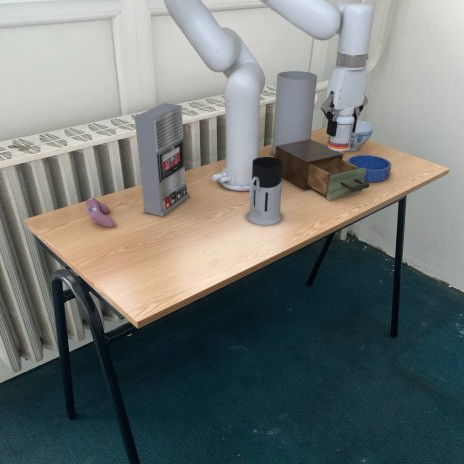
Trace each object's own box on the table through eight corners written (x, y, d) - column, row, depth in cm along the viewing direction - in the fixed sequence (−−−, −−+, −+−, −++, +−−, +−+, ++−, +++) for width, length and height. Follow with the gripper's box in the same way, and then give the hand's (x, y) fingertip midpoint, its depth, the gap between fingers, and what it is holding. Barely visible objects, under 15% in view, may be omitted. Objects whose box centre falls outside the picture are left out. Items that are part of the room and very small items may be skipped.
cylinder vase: (300, 146, 173) (308, 70, 158) (314, 158, 164) (323, 78, 149) (267, 149, 171) (271, 72, 155) (279, 162, 161) (285, 80, 146)
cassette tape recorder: (163, 217, 128) (155, 120, 113) (144, 213, 130) (133, 116, 115) (189, 197, 138) (184, 105, 123) (170, 193, 140) (164, 102, 125)
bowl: (366, 186, 146) (368, 173, 143) (336, 171, 155) (338, 159, 152) (397, 177, 151) (400, 165, 149) (367, 164, 160) (369, 152, 158)
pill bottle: (335, 143, 139) (341, 101, 132) (354, 148, 135) (360, 105, 129) (323, 148, 135) (328, 105, 128) (341, 153, 132) (348, 110, 125)
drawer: (375, 198, 137) (379, 174, 133) (341, 207, 132) (345, 183, 128) (329, 174, 150) (332, 153, 146) (297, 182, 145) (299, 160, 141)
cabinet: (339, 181, 148) (343, 153, 143) (304, 190, 143) (307, 161, 138) (307, 165, 159) (310, 138, 154) (273, 173, 153) (275, 145, 148)
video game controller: (96, 218, 130) (79, 198, 126) (110, 209, 130) (94, 188, 126) (101, 235, 123) (84, 214, 118) (116, 225, 123) (100, 204, 118)
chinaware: (353, 158, 164) (356, 135, 160) (318, 147, 173) (321, 125, 169) (378, 148, 173) (382, 126, 168) (344, 138, 181) (347, 116, 177)
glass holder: (286, 214, 130) (290, 159, 121) (265, 237, 120) (268, 179, 111) (256, 207, 133) (258, 153, 124) (233, 229, 123) (234, 172, 114)
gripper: (366, 55, 128) (354, 125, 139) (314, 61, 121) (307, 134, 132) (386, 60, 123) (373, 132, 134) (334, 66, 116) (325, 142, 127)
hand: (340, 132), depth 133 cm, fingers closed on pill bottle, 6 cm apart
